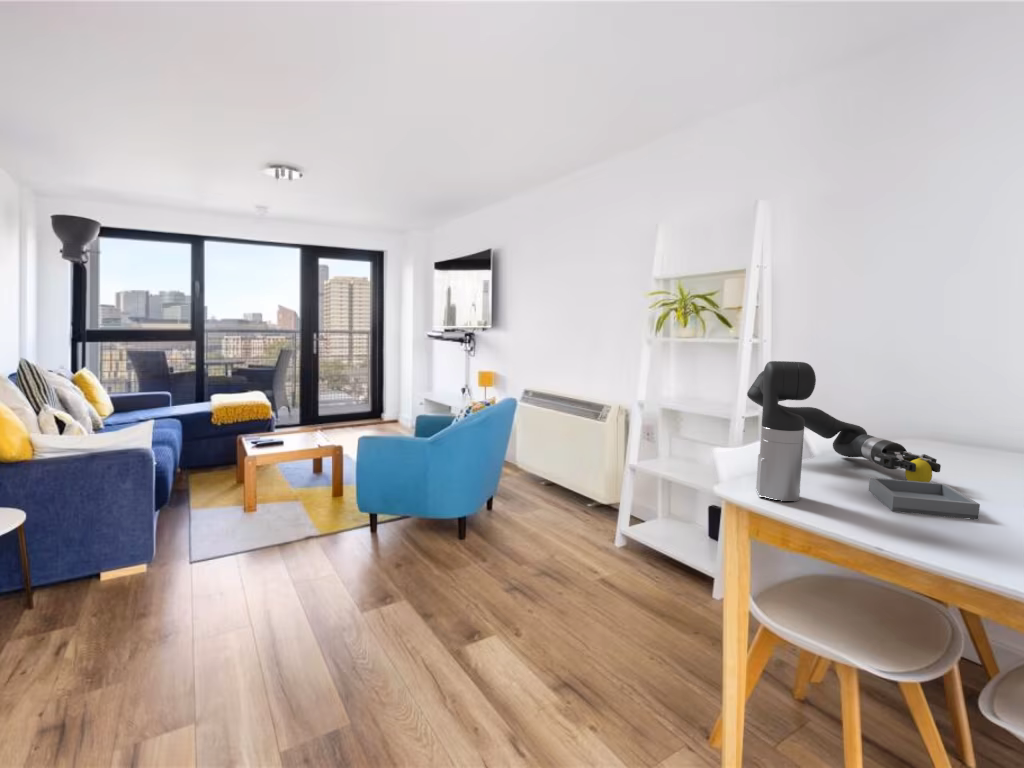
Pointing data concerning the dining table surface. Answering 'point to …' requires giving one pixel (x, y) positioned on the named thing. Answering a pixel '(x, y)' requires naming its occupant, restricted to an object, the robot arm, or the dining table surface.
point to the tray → (923, 498)
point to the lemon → (920, 471)
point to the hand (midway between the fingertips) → (926, 468)
